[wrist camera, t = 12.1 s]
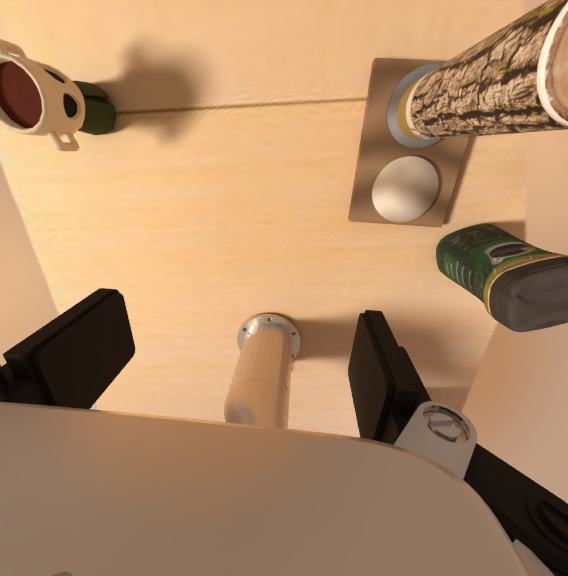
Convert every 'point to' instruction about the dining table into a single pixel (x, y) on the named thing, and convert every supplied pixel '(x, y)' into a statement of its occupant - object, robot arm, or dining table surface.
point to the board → (401, 156)
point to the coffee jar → (507, 276)
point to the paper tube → (497, 83)
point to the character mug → (49, 101)
